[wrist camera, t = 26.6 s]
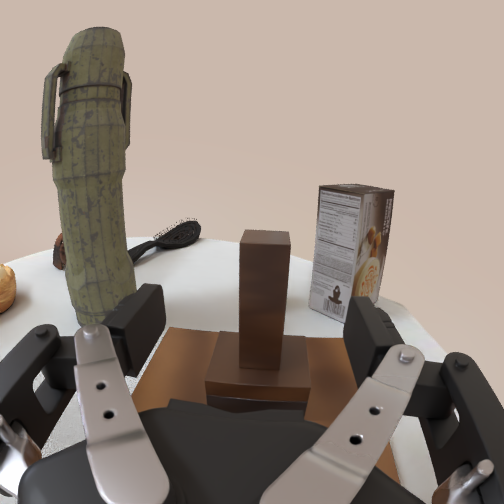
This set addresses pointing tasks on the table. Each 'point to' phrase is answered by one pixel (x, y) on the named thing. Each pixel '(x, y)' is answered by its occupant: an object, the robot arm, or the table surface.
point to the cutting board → (197, 362)
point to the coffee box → (349, 246)
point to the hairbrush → (170, 239)
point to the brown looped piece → (59, 253)
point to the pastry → (7, 287)
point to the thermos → (91, 168)
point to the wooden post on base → (260, 336)
